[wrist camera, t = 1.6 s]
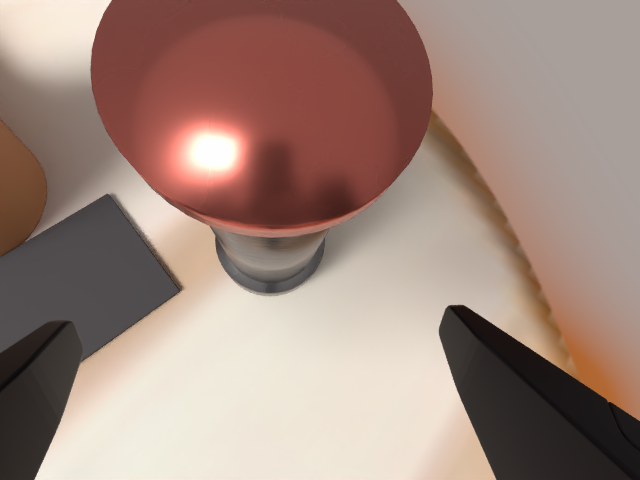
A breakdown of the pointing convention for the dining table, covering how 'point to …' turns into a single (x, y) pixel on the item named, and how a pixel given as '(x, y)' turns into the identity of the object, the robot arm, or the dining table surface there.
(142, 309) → the dark grey rectangular plate
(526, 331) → the dining table surface
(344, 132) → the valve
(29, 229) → the bracket
